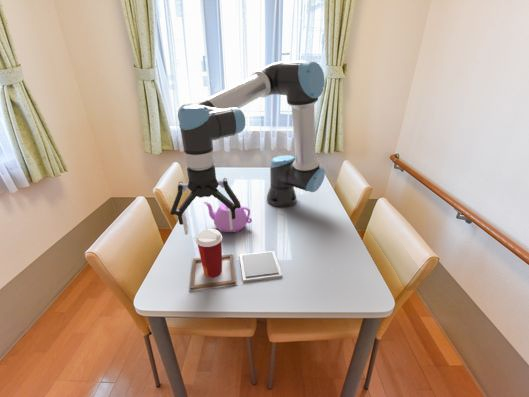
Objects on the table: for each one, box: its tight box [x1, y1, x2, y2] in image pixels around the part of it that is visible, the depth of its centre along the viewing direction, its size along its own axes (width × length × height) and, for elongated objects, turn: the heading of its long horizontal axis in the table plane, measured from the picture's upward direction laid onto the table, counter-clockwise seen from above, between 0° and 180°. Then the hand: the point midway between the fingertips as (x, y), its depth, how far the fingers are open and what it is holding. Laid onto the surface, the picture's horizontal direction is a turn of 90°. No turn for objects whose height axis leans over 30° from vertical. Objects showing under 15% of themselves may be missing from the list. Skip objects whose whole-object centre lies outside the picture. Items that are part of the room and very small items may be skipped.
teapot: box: [203, 200, 253, 234], centre depth 112 cm, size 20×14×12 cm
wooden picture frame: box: [188, 253, 238, 292], centre depth 90 cm, size 15×15×1 cm
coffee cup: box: [195, 228, 223, 278], centre depth 86 cm, size 8×8×15 cm
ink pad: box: [239, 250, 283, 283], centre depth 92 cm, size 13×13×1 cm
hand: (209, 229), depth 82 cm, fingers open, 13 cm apart
